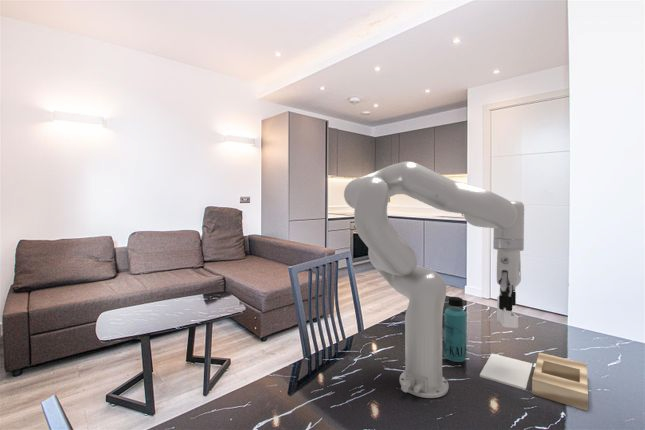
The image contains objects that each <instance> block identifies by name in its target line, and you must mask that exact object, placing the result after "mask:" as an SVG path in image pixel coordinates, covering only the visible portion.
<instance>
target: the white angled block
mask: <svg viewBox="0 0 645 430" xmlns="http://www.w3.org/2000/svg"><path fill="white" fill-rule="evenodd" d="M496 301H497V302H496V303H497V304H496V321H497V322H498V323H500V325H501V326H502V327H503V328H510V329H511V328H512V329H519V316H518V315H517V314H516V313H515V312H514V311H513V310H512V311H507V310H506V308H504V310H501V309H499V295H498V296H497V298H496Z"/></svg>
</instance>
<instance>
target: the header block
mask: <svg viewBox="0 0 645 430" xmlns="http://www.w3.org/2000/svg"><path fill="white" fill-rule="evenodd" d="M535 363H536V364H535V367H534V371H533V374H532V381H531V395H534V396H537V397H540V398H544V399H547V400H550V401H554V402H557V403H560V404H564V405H567V406H571V407H573V408H577V409H580V410H584V411H587V412H588V411H589V386H588V385H589V384H588V367H587V366H588V364H587V363H586V362H581V361H578V360H574V359H573V360H572V359H569V358H564V357H560V356H557V355H552V354H551V355H550V354H547V353H542V352H538V355H537V359H536V362H535Z"/></svg>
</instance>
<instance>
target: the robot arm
mask: <svg viewBox="0 0 645 430" xmlns="http://www.w3.org/2000/svg"><path fill="white" fill-rule="evenodd" d="M344 188H345V189H344V192H343V198H344V201H345V203H346V205H348V206H349V207H350V208H351V209H354V212H353V213H354V214H353V216H354V217H353V218H354V219H353V220H354V221H353V222H354V226H355V230H356V233H357V234H358V237H359V238H360V240H362V242H363V243H364V244H365V246H366V247H367V248H368V251H367V254H368V255H367V256H368V259H369V261H370V263H371V265H372V266H373V267H374V269H376V271H377V272H378V273H379V274H380V275H381V277H383V278H384V280H385V281H386V282H387V283H388V284H389V285H390V286H391V287H392V288H393V289H394V291H396V292H397V293H398V294H399V295H402V296H403V297H406V298H407V299H408V305H407V308H406V311H405V316H404V326H405V327H404V330H405V331H404V332H405V333H404V335H405V336H404V344H405V346H404V351H405V352H404V357H405V358H404V360H405V361H404V363H405V364H404V365H405V369H404V370H405V371H403V372H402V373H401V374H400V376H399V385H400V386H401V387H400V389H401V390H402V392H404V393H409V394H411V395H413V396H415V397H420V398H422V399H423V398H425V399H438V398H441V397H443V396H445V395H446V394H447V393H448V392H449V382H448V381H447V379H446V378H445V377H444V376H443V316H444V315H443V314H444V306H445V301H446V297H447V285H446V281H445V280H444V278H443V277H442V275H440V274H439V273H438V272H436V271H435V270H433V269H430V268H427V267H425V266H421V265H418V257H417V254H416V251H415V250H414V248H413V247H412V245H411V244H410V243H409V242H408V241H407V240H406V239H405V238H404V237H403V236H402V234H401V233H400V232H399V231H398V230H397V229H396V227H395V226H394V225H393V224H392V221H390V219H389V216H388V204H389V199H390V198H391V197H394V196H395V195H404V196H408V197H410V198H412V199H414V200H417V201H419V202H421V203H423V204H426V205H428V206H429V207H432V208H434V209H437V210H438V211H439V210H440V211H444V212H449V213H455V214H463V216H464V219H465V220H466V222H467V223H468V224H470V225H471V226H474V227H478V228H489V229H493V241H492V243H493V246H492V247H493V248H492V249H493V250H497V254H496V283H497V284H498V285H499V295H498V296H499V309H501V310H504V308H506V310H507V311H512V312H513V307H514V306H516V304H517V302H516V300H517V299H516V298H517V293H516V287H518V286H519V285H520V283H521V282H522V271H521V267H522V266H521V264H522V263H521V252H522V251H524V249H525V243H524V242H525V239H524V238H525V203H523V202H521V201H518V200H508V199H506V198H504V197H503V196H501V195H499V194H497V193H495V192H492V191H489V190H487V189H485V188H480V187H477V186H475V185H474V186H473V185H471V184H466V183H464V182H460V181H456V180H453V179H450V178H449V177H446V176H444V175H442V174H440V173H439V172H435V171H434V170H432V169H429V168H428V167H426V166H423V165H422V164H419V163H416V162H413V161H411V160H410V161H409V160H408V161H407V160H406V161H401V162H398V163H397V162H396V163H394V164H391V165H388V166H386V167H384V168H381V169H379V170H376V171H373V172H371V173H368V174H365V175H362V176H359V177H358V178H355V179H352V180H351V181H349V182H348V183H347V185H346V186H345V187H344Z"/></svg>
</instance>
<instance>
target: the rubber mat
mask: <svg viewBox="0 0 645 430" xmlns="http://www.w3.org/2000/svg"><path fill="white" fill-rule="evenodd" d="M532 369H533V363H532V362H529V361H528V362H527V361H524V360H520V359H517V358H512V357H508V356H504V355H501V354H495V353H490V356H489V357H488V359H487V360H486V362H485V365H484V366H483V368H482V370H481V372H480V373H479V377H480V378H483V379H485V380H489V381H493V382H497V383H498V384H499V383H500V384H502V385H503V384H504V385H507V386H510V387H513V388H516V389H519V390H523V391H526V390H527V386H528V383H529V380H530V376H531V372H532Z"/></svg>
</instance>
